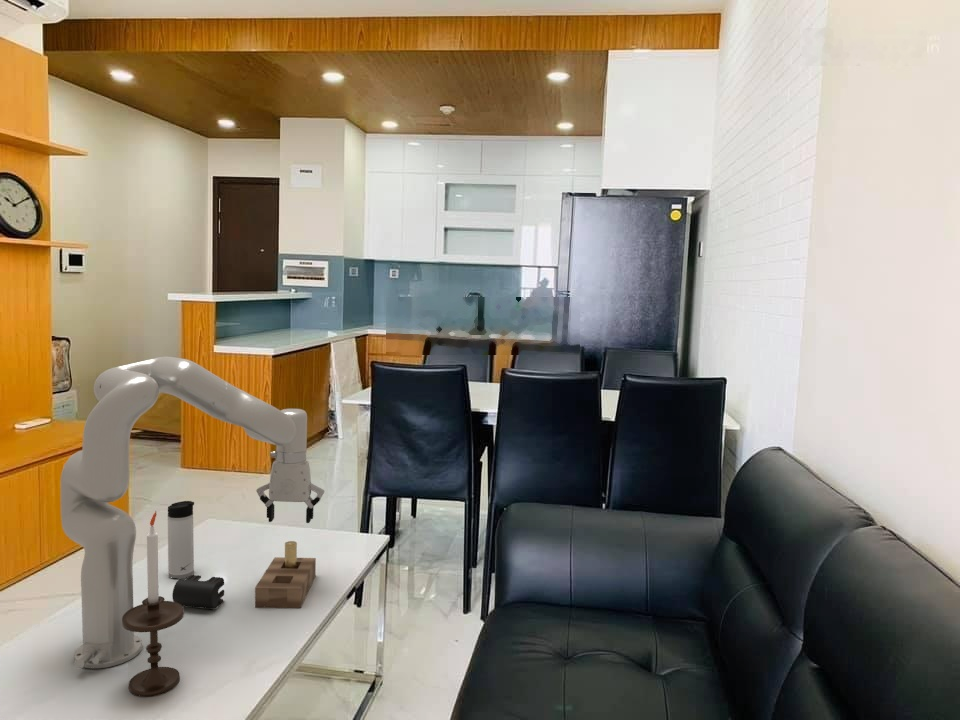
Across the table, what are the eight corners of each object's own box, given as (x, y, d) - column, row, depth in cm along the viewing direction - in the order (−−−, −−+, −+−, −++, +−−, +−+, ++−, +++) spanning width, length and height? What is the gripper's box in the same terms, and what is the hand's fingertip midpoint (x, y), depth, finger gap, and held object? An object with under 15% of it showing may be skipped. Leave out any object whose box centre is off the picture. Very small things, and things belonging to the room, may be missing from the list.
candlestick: (193, 668, 141) (191, 502, 138) (171, 700, 130) (168, 520, 127) (139, 667, 141) (136, 501, 137) (112, 699, 130) (108, 519, 126)
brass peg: (295, 585, 181) (295, 545, 180) (283, 585, 181) (283, 545, 180) (297, 581, 184) (297, 541, 183) (286, 580, 184) (286, 541, 183)
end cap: (172, 611, 165) (171, 584, 165) (188, 598, 172) (187, 572, 172) (211, 615, 164) (211, 587, 164) (226, 601, 171) (225, 575, 171)
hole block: (300, 608, 169) (300, 588, 168) (255, 607, 168) (255, 587, 168) (315, 575, 188) (315, 557, 187) (274, 575, 187) (274, 557, 187)
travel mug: (188, 579, 182) (188, 506, 180) (164, 578, 183) (163, 505, 180) (199, 570, 189) (198, 499, 187) (175, 569, 189) (174, 498, 187)
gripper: (253, 459, 175) (252, 524, 176) (322, 461, 176) (320, 526, 177) (261, 452, 182) (260, 515, 184) (327, 454, 183) (325, 517, 185)
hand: (290, 520), depth 181 cm, fingers open, 9 cm apart
